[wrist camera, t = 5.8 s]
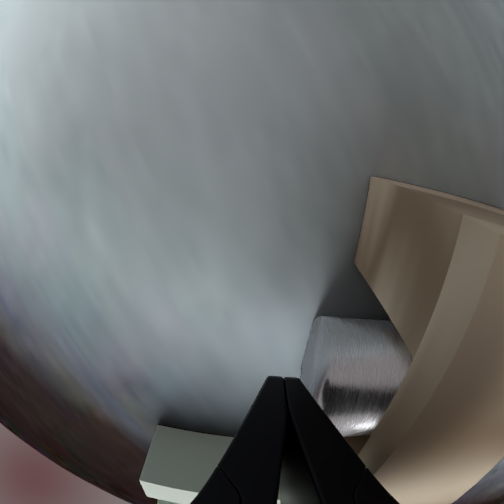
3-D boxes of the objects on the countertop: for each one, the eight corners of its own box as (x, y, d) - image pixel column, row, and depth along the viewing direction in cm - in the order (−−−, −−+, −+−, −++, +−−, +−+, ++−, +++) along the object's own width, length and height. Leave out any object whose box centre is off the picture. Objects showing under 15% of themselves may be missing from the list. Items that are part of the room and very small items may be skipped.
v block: (318, 492, 15) (322, 533, 12) (169, 480, 15) (159, 521, 12) (353, 440, 13) (365, 494, 10) (157, 424, 13) (139, 480, 10)
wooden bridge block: (413, 418, 12) (446, 507, 7) (304, 424, 12) (313, 534, 7) (502, 209, 8) (613, 268, 3) (370, 175, 8) (500, 233, 3)
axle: (572, 304, 9) (595, 361, 6) (534, 345, 12) (550, 399, 9) (325, 290, 9) (335, 416, 6) (299, 353, 12) (298, 447, 9)
